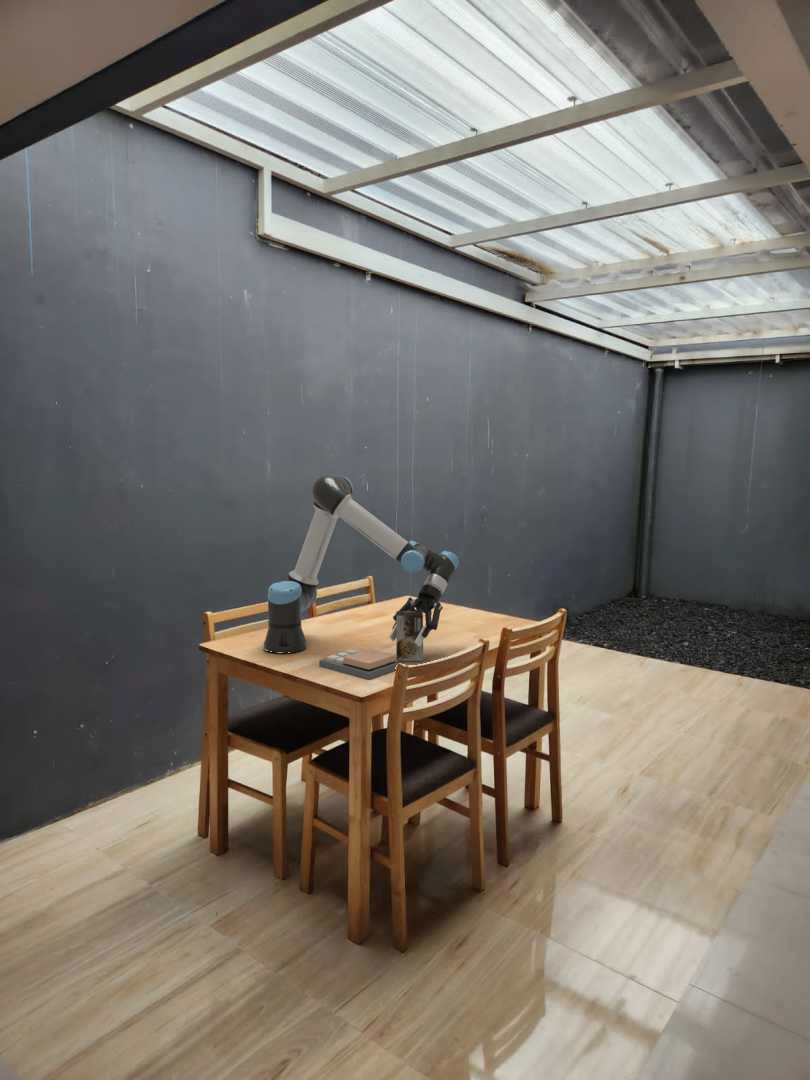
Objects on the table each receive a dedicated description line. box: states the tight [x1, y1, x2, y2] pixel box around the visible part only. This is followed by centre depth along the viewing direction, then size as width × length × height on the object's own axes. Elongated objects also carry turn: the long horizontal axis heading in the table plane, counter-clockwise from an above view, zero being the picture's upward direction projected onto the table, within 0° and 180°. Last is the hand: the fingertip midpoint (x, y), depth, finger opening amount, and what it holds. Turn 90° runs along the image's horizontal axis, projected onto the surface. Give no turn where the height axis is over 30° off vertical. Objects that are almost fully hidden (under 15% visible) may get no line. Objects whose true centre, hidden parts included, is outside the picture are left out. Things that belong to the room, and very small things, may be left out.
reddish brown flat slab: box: [343, 648, 397, 670], centre depth 223 cm, size 11×13×2 cm
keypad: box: [318, 649, 403, 681], centre depth 226 cm, size 22×16×3 cm
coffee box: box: [395, 610, 424, 662], centre depth 236 cm, size 9×6×16 cm
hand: (404, 641), depth 233 cm, fingers closed on coffee box, 10 cm apart
